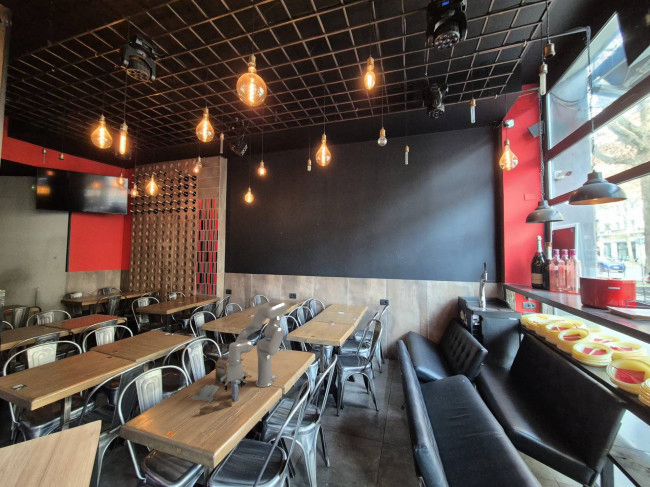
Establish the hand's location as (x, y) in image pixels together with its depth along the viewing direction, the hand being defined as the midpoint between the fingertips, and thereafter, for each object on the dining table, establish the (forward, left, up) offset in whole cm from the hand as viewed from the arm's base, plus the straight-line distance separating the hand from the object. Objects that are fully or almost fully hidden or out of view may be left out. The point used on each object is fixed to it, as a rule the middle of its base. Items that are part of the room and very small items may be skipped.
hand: (233, 388), depth 171 cm
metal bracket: (+14, -13, -7) cm, 21 cm away
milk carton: (-1, -27, -6) cm, 28 cm away
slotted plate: (-1, 0, -6) cm, 6 cm away
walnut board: (+12, +9, -6) cm, 16 cm away
